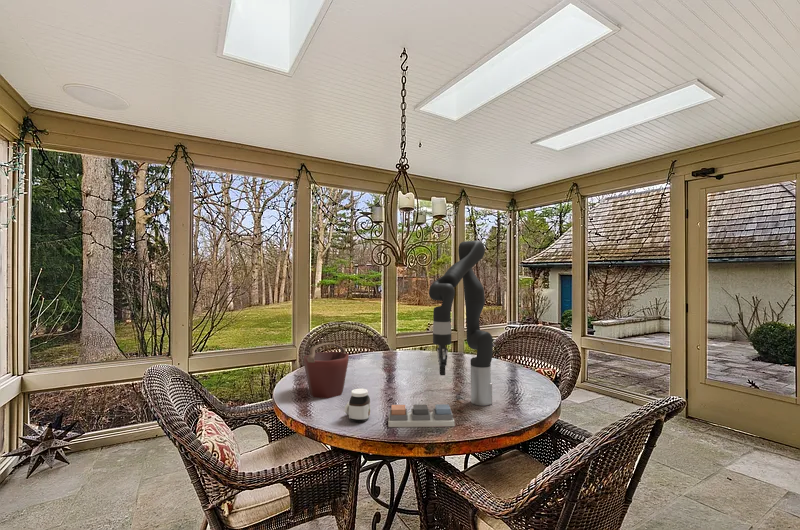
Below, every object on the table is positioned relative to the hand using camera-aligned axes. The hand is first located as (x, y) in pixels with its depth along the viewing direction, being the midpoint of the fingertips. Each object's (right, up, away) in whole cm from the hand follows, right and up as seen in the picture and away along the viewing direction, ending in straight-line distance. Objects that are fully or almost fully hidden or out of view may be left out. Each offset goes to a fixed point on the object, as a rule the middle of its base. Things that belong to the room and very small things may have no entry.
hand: (442, 374), depth 156 cm
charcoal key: (-9, -15, 0) cm, 18 cm away
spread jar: (-35, -20, +4) cm, 41 cm away
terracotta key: (-18, -15, 0) cm, 24 cm away
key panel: (-9, -19, 0) cm, 21 cm away
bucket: (-55, -20, +38) cm, 70 cm away
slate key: (0, -15, 0) cm, 15 cm away
